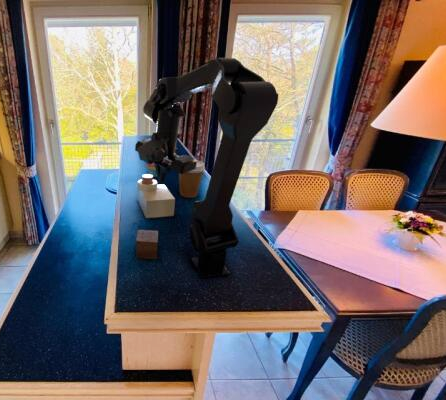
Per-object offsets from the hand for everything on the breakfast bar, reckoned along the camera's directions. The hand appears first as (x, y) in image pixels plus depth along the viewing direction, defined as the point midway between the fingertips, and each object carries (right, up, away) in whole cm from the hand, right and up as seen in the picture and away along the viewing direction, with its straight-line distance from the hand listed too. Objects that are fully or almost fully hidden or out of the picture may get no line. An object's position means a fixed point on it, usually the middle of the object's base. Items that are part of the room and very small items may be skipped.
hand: (160, 181), depth 78 cm
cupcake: (+2, +5, +39) cm, 39 cm away
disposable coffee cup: (+13, -4, +20) cm, 24 cm away
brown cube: (-5, -19, -12) cm, 23 cm away
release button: (-3, 0, +10) cm, 10 cm away
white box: (-1, -8, +10) cm, 13 cm away
